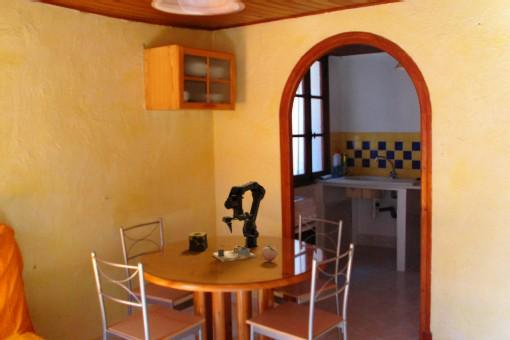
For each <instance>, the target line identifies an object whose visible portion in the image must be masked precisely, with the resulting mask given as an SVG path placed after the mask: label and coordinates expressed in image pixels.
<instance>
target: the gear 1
mask: <svg viewBox="0 0 510 340" xmlns="http://www.w3.org/2000/svg"><path fill="white" fill-rule="evenodd" d="M238 245H239V244H238ZM238 245H237V244H236V245H234V246H233V248H232V249H233V252H235V253H238V249H239V248H246V246H245V245H243V244H242V245H241V244H240V246H241V247H238Z"/></svg>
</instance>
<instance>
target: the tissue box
mask: <svg viewBox="0 0 510 340" xmlns="http://www.w3.org/2000/svg"><path fill="white" fill-rule="evenodd" d="M207 238H208V232H207V231H200V232H199V231H196V232H195V231H193V232H190V233H189V235H188V250H189V252H205V251H206V250H207V249H208V247H209V242H208V239H207Z"/></svg>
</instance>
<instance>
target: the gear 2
mask: <svg viewBox="0 0 510 340" xmlns="http://www.w3.org/2000/svg"><path fill="white" fill-rule="evenodd" d="M250 252H251V248H248V247H245V250H243V248H239V249H238V255H240V256H241V255H243V256H245V255H249V254H250Z"/></svg>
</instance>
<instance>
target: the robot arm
mask: <svg viewBox="0 0 510 340" xmlns="http://www.w3.org/2000/svg"><path fill="white" fill-rule="evenodd" d="M248 191H250V193H251V197H252V203H251V207H250V210H249V211H244V208H243V200H244V199H245V197H244V195H245V193H246V192H248ZM266 193H267V192H266V189H265V187H264V186H263V185H261V184H260V183H258V182H257V181H253V180H252V181H251V180H250V181H249V182H246V183H244V184H242V185H234V186H231V189H230V190H229V193H228V197H227V198H226V200H225V201H224V203H223V204H224V208H225V209H226V210H232V211H233V214H232V217H231V216H226V215H225V216H223V217H222V219H221V220H222V221H221V222H223V223H225V225H227V227H228V229H229V231H230V233H231V234H233V228H232V227H233V222H232V221H239V222H241V221H243V226H242V229H241V230H242V235H243V237H244V238H245V242H244V246H245V247H246V248H249V249H251V248H257V247H259V246H258V242H257V240H258V238H259V237H260V233H259V231H258V230H257V228H258V227H257V224H256V223H257V218H258V213H259V209H260V204H261V202H262V201H263V200H264V198H265V195H266Z"/></svg>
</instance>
